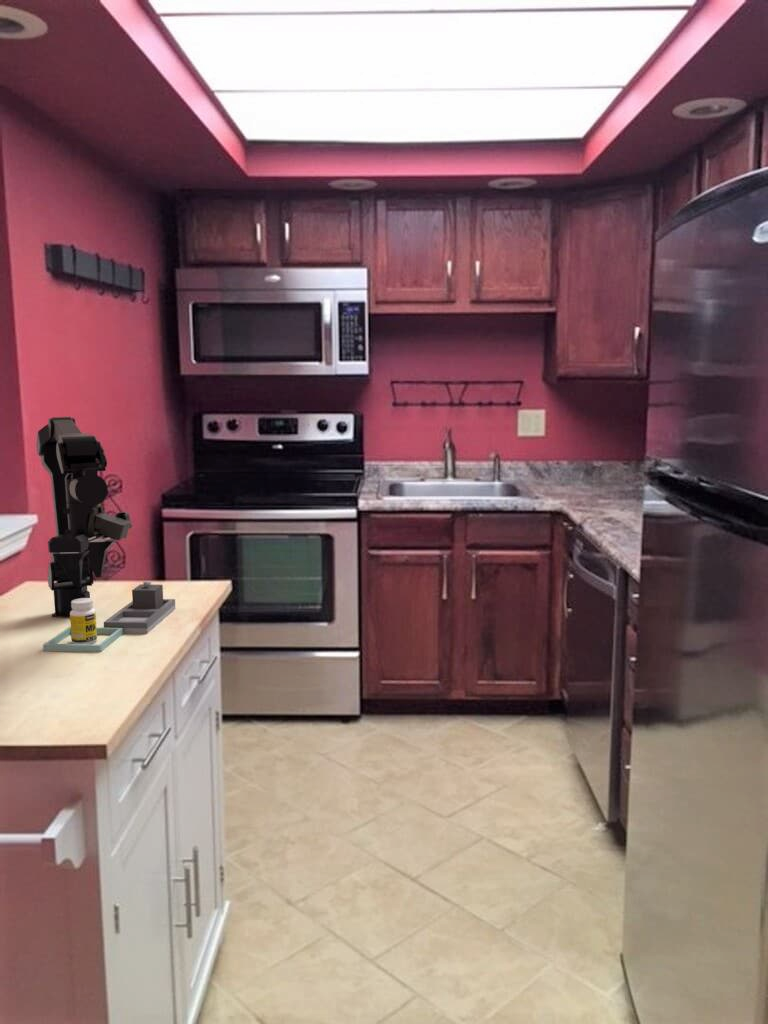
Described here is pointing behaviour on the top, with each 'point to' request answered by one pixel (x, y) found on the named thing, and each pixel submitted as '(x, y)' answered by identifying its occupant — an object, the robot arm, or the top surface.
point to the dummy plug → (147, 596)
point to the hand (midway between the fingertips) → (88, 581)
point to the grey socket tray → (139, 617)
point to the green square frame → (53, 645)
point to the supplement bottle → (83, 621)
